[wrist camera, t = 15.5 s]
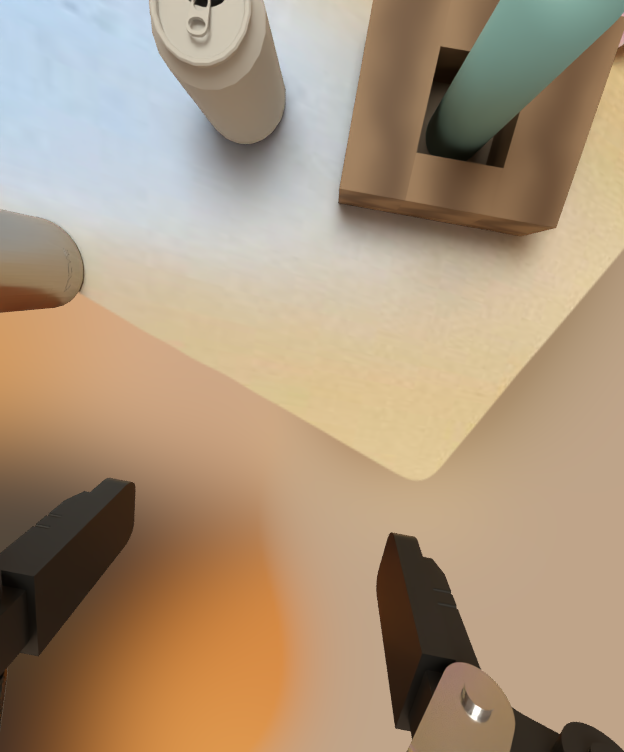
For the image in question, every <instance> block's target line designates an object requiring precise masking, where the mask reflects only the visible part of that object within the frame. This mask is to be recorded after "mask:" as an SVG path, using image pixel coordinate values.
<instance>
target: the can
mask: <svg viewBox="0 0 624 752" xmlns="http://www.w3.org/2000/svg"><path fill="white" fill-rule="evenodd" d="M149 7H150V15H151V24H152V33H153V36H154V39H155V42H156V45H157V48H158V51H159V54H160V55H161V57H162V58H163V60H164V61H165V63H166V64H167V66H168V68H169V69H170V71H171V72H172V73H173V74H174V76H175V77H176V78H177V80H178V81H179V82H180V84H181V85H182V86H183V87H184V89H185V90H186V91H187V93H188V94H189V95H190V96H191V98H192V99H193V100H194V102H195V103H196V104H197V106H198V107H199V108H200V109H201V111H202V112H203V113H204V115H205V116H206V117H207V119H208V120H209V121H210V122H211V124H212V125H213V126H214V128H215V129H216V130H217V131H218V132H219V133H220V134H222V135H223V136H224V137H225V138H226V139H228V140H231V141H233V142H236V143H238V144H252V143H255V142H258V141H261V140H263V139H265V138H266V137H267V136H268V135H269V134H271V133H272V132H273V131H274V130H275V128H276V126H277V125H278V123H279V122H280V120H281V118H282V114H283V111H284V107H285V86H284V82H283V78H282V74H281V70H280V66H279V62H278V58H277V54H276V50H275V46H274V41H273V37H272V33H271V29H270V25H269V21H268V17H267V13H266V9H265V5H264V1H263V0H149Z"/></svg>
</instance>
